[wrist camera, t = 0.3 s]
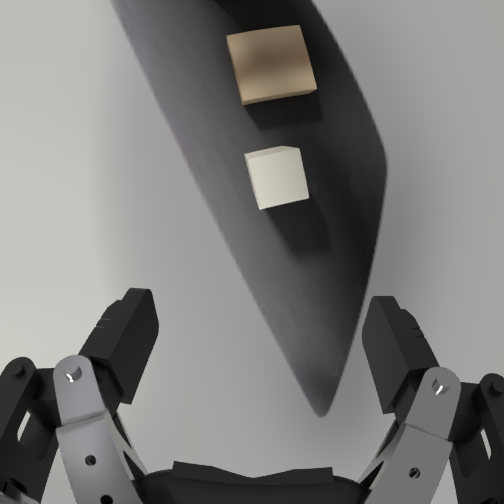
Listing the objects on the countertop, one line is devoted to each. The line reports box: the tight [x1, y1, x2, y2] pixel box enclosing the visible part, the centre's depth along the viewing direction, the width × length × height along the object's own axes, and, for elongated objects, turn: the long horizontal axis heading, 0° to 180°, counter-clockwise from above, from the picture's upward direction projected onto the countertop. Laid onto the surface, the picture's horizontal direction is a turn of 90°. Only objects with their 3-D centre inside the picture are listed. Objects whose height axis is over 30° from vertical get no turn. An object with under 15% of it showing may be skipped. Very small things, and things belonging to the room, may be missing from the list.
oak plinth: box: [227, 25, 317, 105], centre depth 28 cm, size 8×8×4 cm
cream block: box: [244, 146, 309, 209], centre depth 29 cm, size 4×4×10 cm
